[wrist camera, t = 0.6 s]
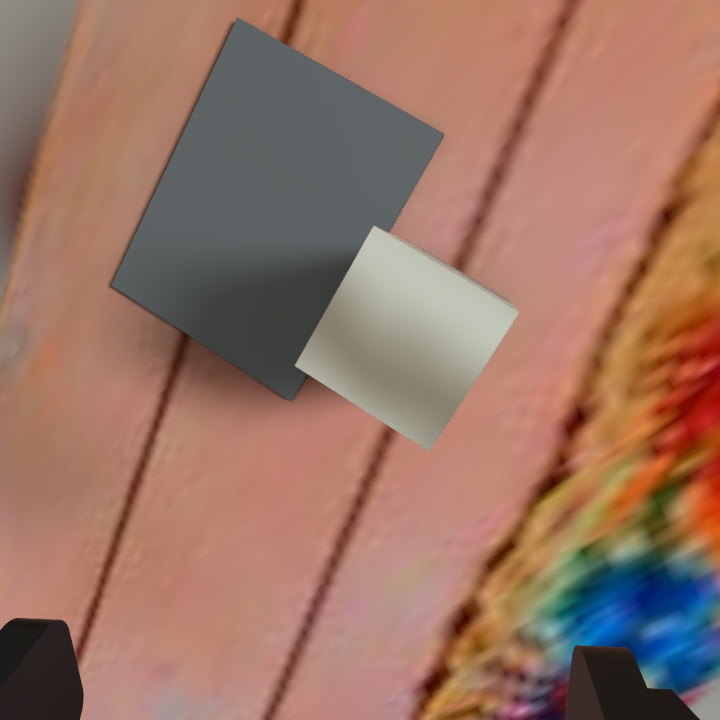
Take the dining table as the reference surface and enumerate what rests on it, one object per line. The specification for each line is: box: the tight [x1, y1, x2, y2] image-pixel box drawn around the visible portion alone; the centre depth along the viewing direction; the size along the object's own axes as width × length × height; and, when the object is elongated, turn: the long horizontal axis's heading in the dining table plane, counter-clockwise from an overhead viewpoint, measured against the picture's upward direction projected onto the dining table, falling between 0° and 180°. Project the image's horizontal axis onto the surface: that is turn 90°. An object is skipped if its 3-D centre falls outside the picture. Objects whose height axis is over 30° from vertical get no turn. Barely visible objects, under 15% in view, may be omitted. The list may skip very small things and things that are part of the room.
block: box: [295, 226, 519, 452], centre depth 29 cm, size 6×6×14 cm
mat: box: [111, 17, 444, 401], centre depth 37 cm, size 18×14×1 cm
